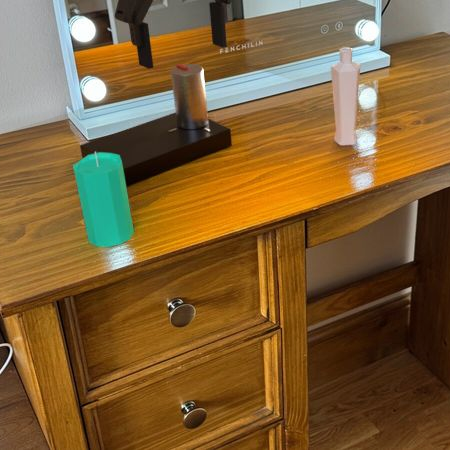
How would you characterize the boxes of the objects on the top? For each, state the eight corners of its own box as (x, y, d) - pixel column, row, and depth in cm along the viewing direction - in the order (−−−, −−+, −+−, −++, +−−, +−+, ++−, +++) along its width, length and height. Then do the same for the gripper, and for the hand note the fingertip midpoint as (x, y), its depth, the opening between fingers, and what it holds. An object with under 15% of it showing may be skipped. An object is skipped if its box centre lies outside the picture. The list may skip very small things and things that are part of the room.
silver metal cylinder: (214, 123, 123) (209, 67, 118) (189, 132, 120) (182, 75, 115) (196, 114, 126) (190, 60, 121) (171, 123, 123) (164, 68, 118)
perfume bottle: (346, 149, 120) (346, 56, 112) (327, 141, 123) (326, 50, 115) (366, 140, 123) (368, 49, 115) (347, 132, 125) (347, 43, 118)
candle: (122, 218, 104) (107, 137, 98) (141, 236, 100) (128, 153, 93) (80, 233, 101) (62, 150, 95) (98, 252, 97) (81, 167, 90)
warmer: (123, 188, 111) (120, 169, 109) (82, 162, 119) (79, 144, 117) (239, 142, 123) (238, 124, 122) (196, 122, 131) (194, 104, 129)
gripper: (223, -106, 116) (233, 32, 127) (74, -85, 101) (99, 69, 112) (255, -102, 111) (262, 42, 122) (102, -79, 97) (126, 82, 107)
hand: (184, 55), depth 117 cm, fingers open, 13 cm apart
